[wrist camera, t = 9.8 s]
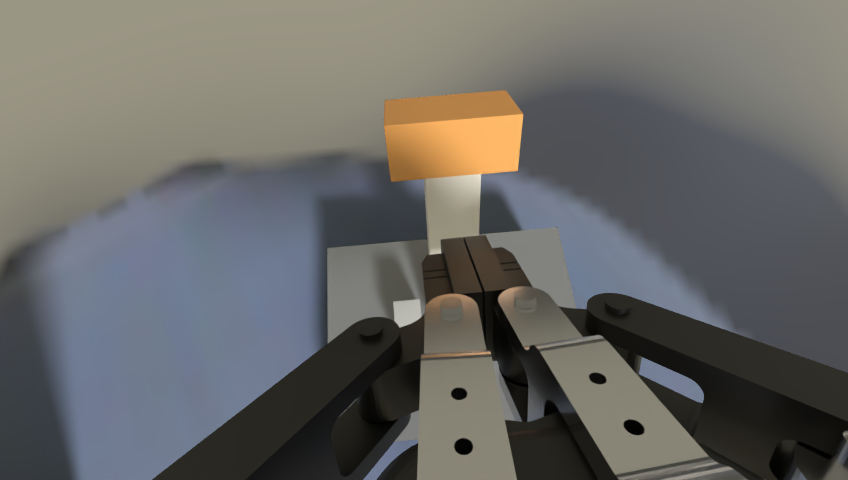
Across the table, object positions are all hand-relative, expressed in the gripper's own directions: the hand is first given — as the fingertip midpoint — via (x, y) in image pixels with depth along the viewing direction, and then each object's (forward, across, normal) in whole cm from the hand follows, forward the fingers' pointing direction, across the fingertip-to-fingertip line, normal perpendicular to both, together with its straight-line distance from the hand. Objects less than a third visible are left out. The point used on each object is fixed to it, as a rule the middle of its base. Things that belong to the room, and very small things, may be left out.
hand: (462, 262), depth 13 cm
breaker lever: (+5, 0, +6) cm, 8 cm away
